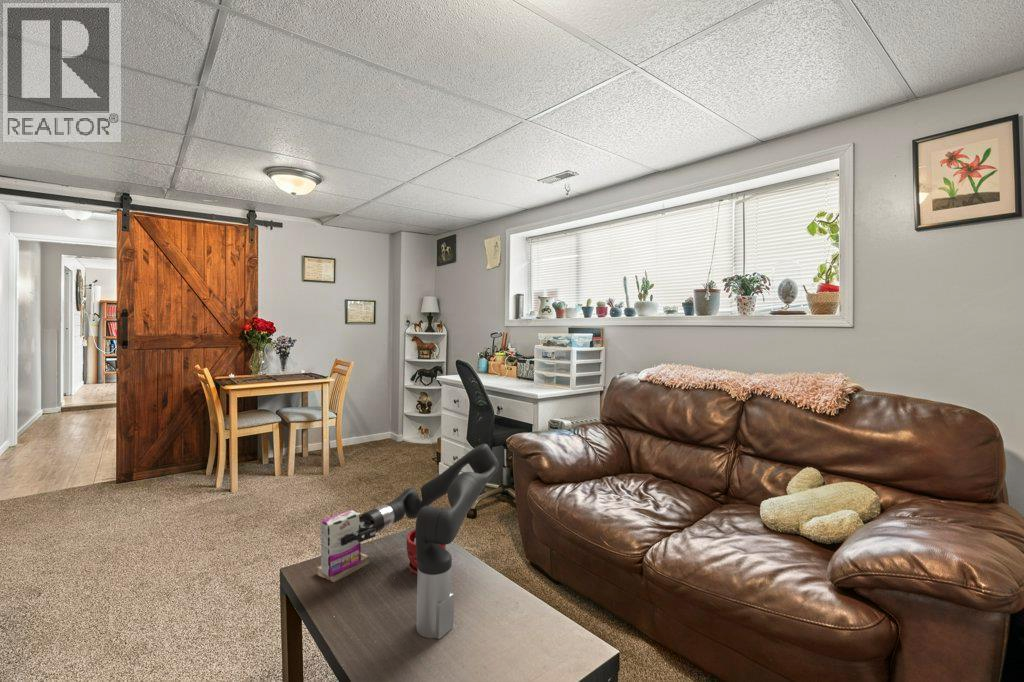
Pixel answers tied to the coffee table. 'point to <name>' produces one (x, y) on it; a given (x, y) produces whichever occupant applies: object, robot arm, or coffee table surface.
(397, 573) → the coffee table surface
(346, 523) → the candy bar box
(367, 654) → the coffee table surface
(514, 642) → the coffee table surface
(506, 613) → the coffee table surface
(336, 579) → the birch collar
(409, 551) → the plant pot
